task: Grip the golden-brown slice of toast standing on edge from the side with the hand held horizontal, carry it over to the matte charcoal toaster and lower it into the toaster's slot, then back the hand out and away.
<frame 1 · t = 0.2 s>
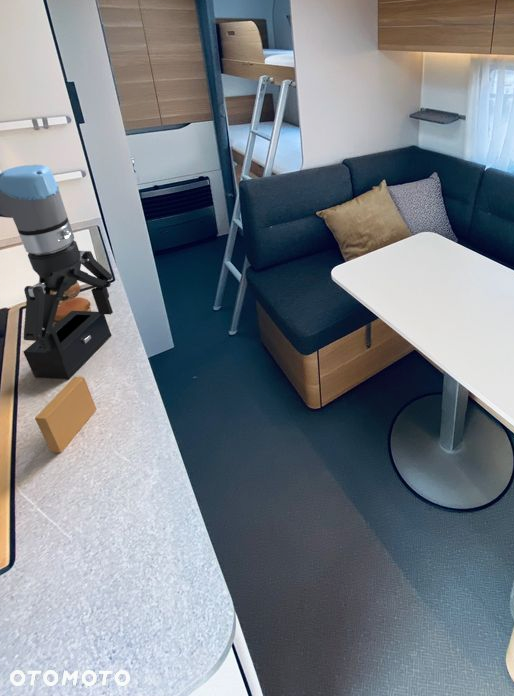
hand: (83, 334, 86), 18 cm above the worktop, tool pointing down, fingers open, 13 cm apart
rock: (61, 295, 129), on the worktop
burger: (73, 318, 119), on the worktop
toast: (74, 429, 85), on the worktop
toaster: (75, 355, 105), on the worktop
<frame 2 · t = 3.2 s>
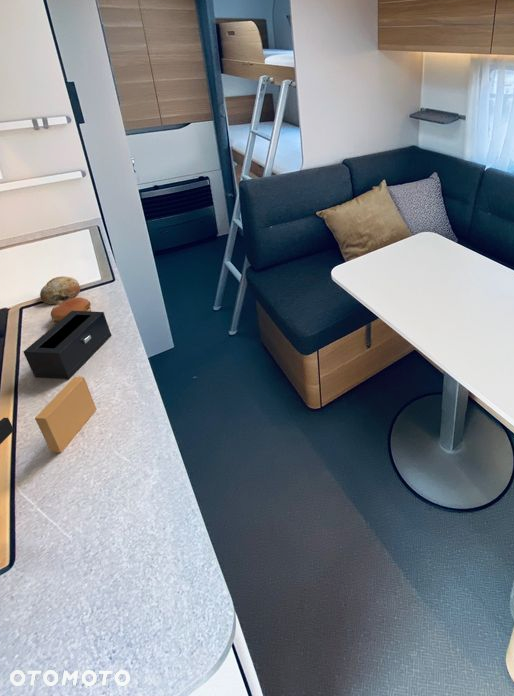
nothing on the worktop moved.
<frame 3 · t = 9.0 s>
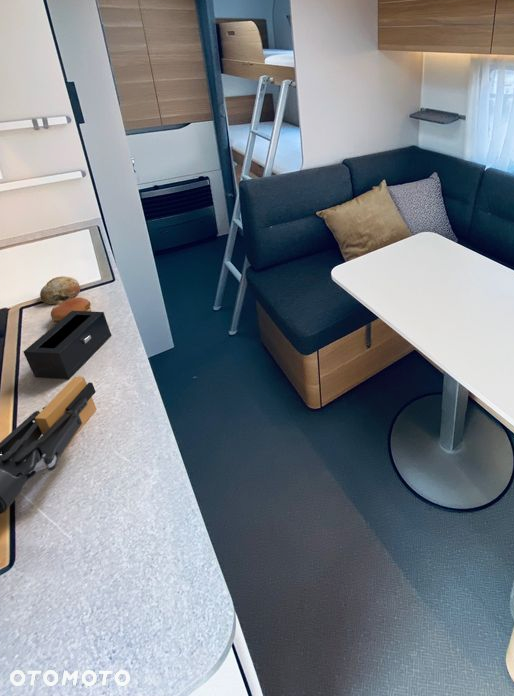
hand: (85, 387, 88), 6 cm above the worktop, tool horizontal, fingers closed on toast, 2 cm apart
toast: (74, 429, 85), on the worktop, touching gripper
everything else where it was.
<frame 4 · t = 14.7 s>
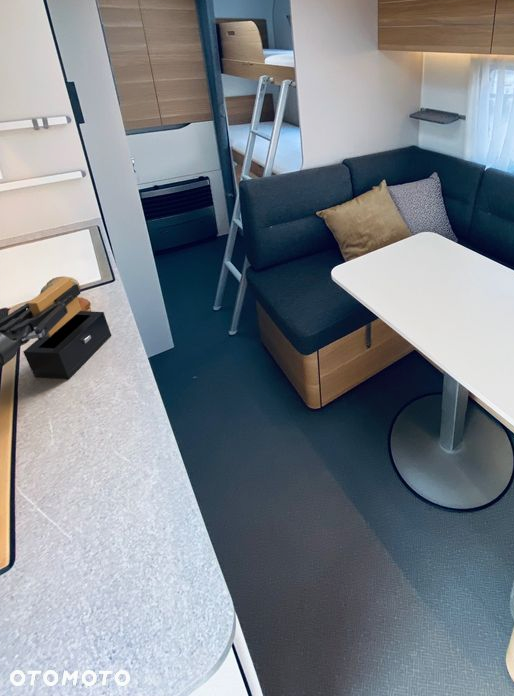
hand: (72, 288, 103), 17 cm above the worktop, tool horizontal, fingers closed on toast, 2 cm apart
toast: (62, 322, 101), point 11 cm above the worktop, touching gripper
everything else where it was.
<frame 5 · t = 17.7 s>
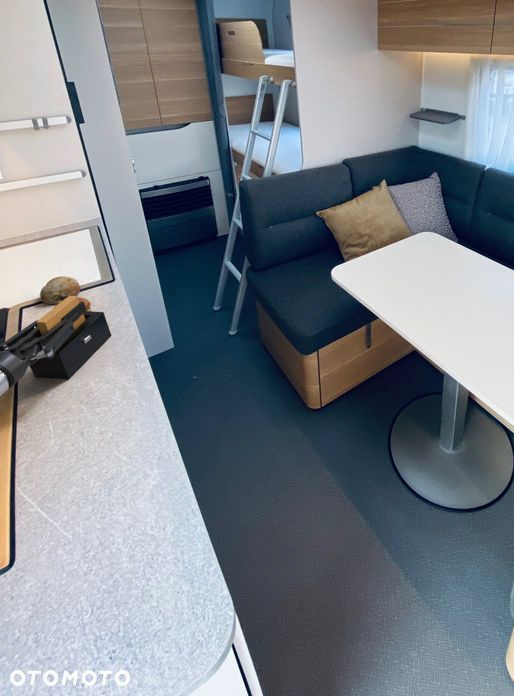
hand: (78, 305, 106), 11 cm above the worktop, tool horizontal, fingers closed on toast, 2 cm apart
toast: (69, 339, 103), point 5 cm above the worktop, touching gripper
everything else where it was.
when the fingers open (12 cm above the worktop, at t = 20.4 s): toast drops 5 cm, resting on toaster.
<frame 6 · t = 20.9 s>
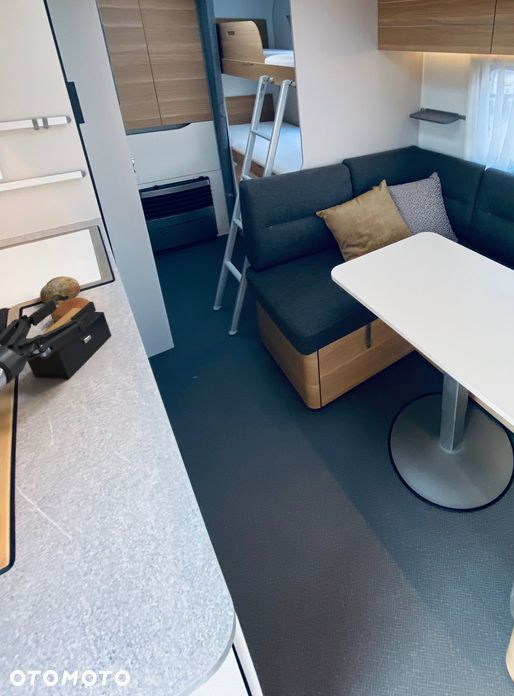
hand: (73, 305, 104), 12 cm above the worktop, tool horizontal, fingers open, 10 cm apart
toast: (73, 350, 104), point 1 cm above the worktop, touching toaster
everything else where it was.
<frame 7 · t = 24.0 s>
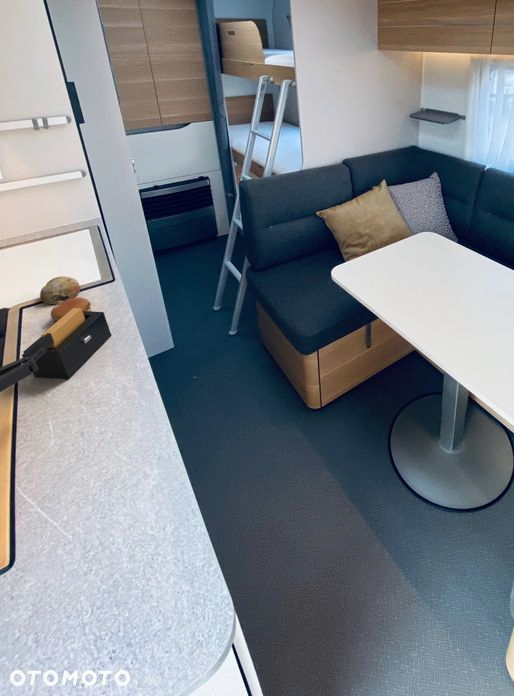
hand: (22, 336, 91), 15 cm above the worktop, tool horizontal, fingers open, 13 cm apart
nothing on the worktop moved.
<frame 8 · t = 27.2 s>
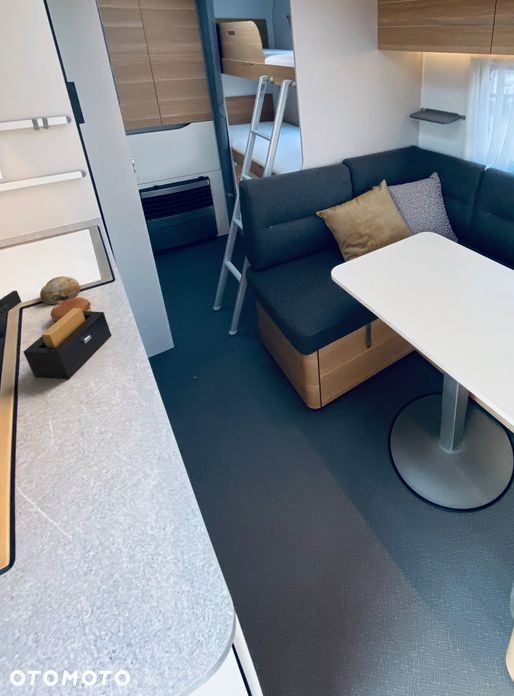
nothing on the worktop moved.
at the end: toast inside the target area on the toaster (0.0 cm from its centre), point 1.5 cm above the toaster's base; toast tilted 0°; the gripper is holding nothing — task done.
